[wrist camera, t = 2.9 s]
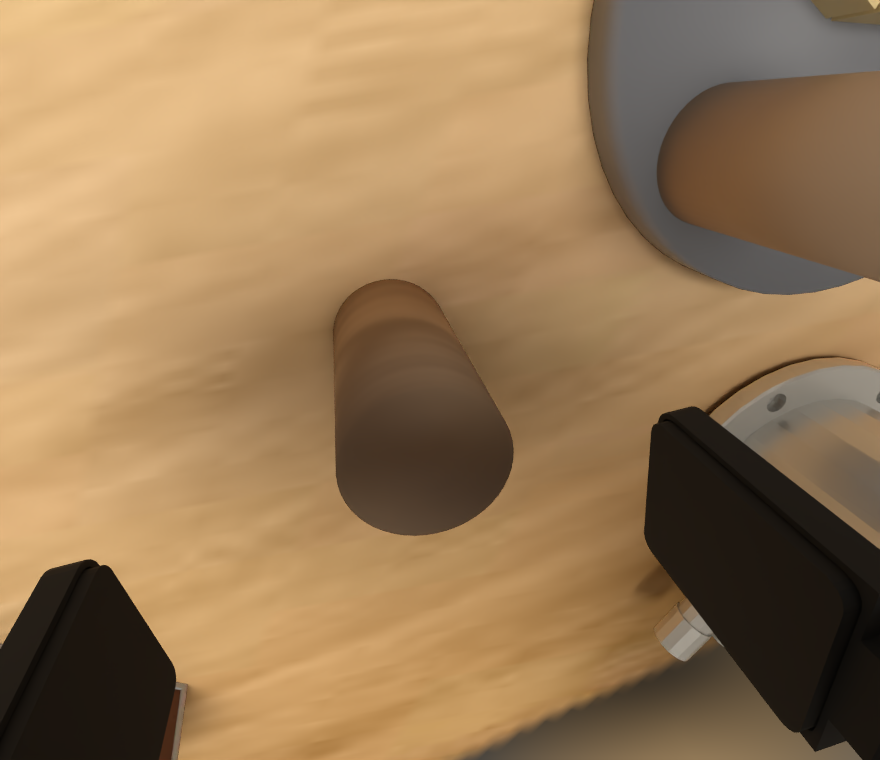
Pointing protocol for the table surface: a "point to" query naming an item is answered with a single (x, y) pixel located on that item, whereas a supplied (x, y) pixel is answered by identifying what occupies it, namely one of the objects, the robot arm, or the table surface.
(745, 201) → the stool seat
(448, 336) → the walnut leg
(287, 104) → the table surface
